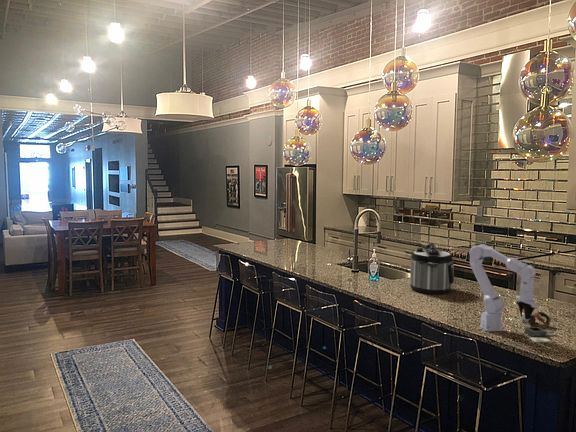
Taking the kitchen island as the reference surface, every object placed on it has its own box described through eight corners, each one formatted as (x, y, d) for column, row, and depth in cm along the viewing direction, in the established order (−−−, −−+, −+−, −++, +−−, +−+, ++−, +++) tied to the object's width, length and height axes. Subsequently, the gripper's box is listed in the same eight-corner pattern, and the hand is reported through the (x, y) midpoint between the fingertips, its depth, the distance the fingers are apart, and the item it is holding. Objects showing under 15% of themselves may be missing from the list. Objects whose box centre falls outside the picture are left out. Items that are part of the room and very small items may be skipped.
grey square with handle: (532, 337, 234) (532, 331, 233) (524, 332, 240) (524, 327, 240) (557, 337, 235) (558, 331, 234) (549, 332, 242) (549, 326, 241)
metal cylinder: (523, 323, 233) (524, 309, 232) (520, 321, 236) (520, 307, 236) (530, 323, 233) (530, 309, 233) (526, 321, 236) (527, 307, 236)
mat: (534, 342, 227) (534, 341, 227) (528, 338, 232) (528, 337, 232) (550, 341, 228) (551, 341, 228) (544, 338, 233) (544, 337, 233)
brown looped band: (537, 322, 258) (546, 311, 254) (546, 335, 250) (555, 324, 246) (518, 318, 256) (527, 307, 252) (527, 331, 248) (536, 319, 244)
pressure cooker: (438, 298, 305) (440, 248, 302) (400, 290, 325) (401, 243, 322) (461, 289, 326) (462, 243, 322) (423, 282, 346) (425, 239, 343)
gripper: (543, 294, 226) (542, 322, 228) (526, 286, 241) (525, 313, 242) (529, 294, 226) (527, 322, 227) (512, 287, 240) (511, 313, 242)
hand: (525, 317), depth 235 cm, fingers closed on metal cylinder, 3 cm apart
